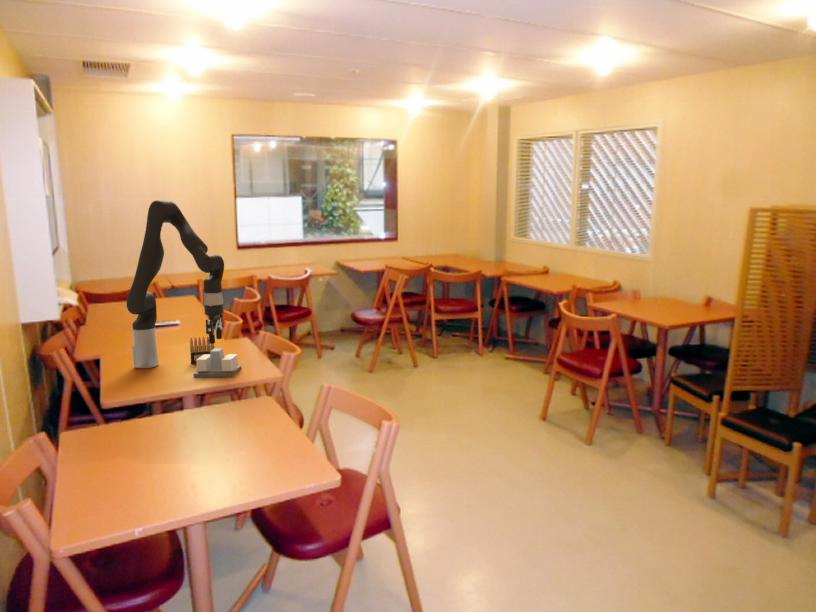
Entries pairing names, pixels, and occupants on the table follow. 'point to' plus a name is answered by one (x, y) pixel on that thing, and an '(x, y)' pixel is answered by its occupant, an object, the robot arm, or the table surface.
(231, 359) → the mounted modules
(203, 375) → the mounting plate
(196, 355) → the ammunition clip
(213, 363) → the module block
